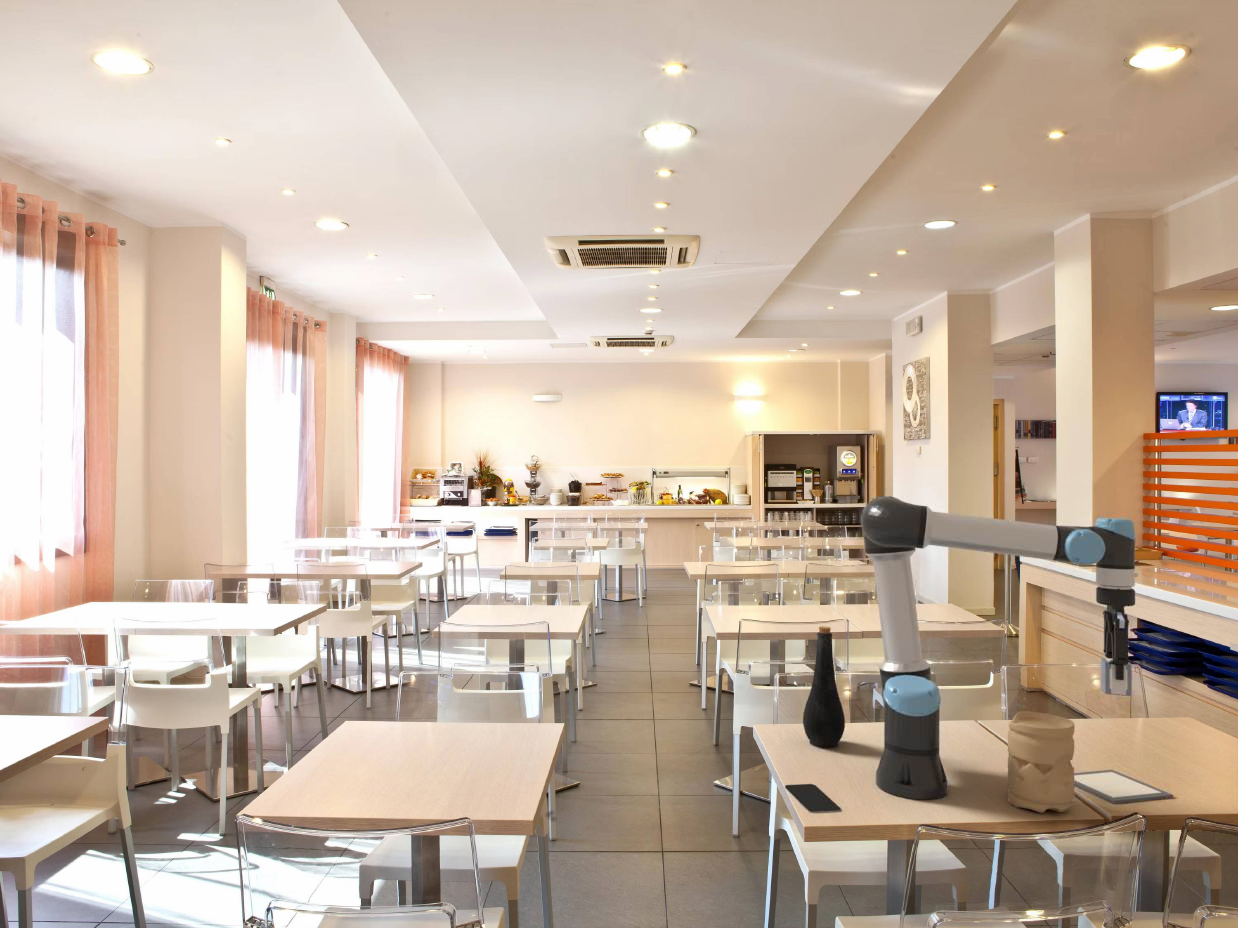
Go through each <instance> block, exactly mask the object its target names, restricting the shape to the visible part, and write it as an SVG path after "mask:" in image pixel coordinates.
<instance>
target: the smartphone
mask: <svg viewBox="0 0 1238 928" xmlns="http://www.w3.org/2000/svg"><path fill="white" fill-rule="evenodd" d="M784 789H785V790H786V791H787V792H788V793H789V794H790V795H791V796H792V797H793V798H794V799H795V800H796V801H797V802H798V803H799V804H800V805H801V806H802V807H803V809H804V810H806V811H807V812H808V813H810V814H815V813H816V814H818V813H819V814H822V813H823V814H824V813H839V812H841V811H842V809H841V807H840V806H839V805H838V804H837V803H835V801H833V800H832V799H831V798H830V797H829V796H828V795H827V794H826V793H825V792H824V791H823V790H821V789H820V788H819V787H818V786H817V785H816V784H812V783H805V784H804V783H803V784H801V783H800V784H799V783H798V784H786V785H784Z"/></svg>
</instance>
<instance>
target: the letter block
mask: <svg viewBox="0 0 1238 928" xmlns="http://www.w3.org/2000/svg"><path fill="white" fill-rule="evenodd" d="M1109 661H1113V659H1109V658H1106V657H1101V658H1100V690H1101V691H1102V692H1103V693H1104V694H1105V695H1113V696H1120V695H1119V694H1112V693H1111V664H1109ZM1122 696H1124V697H1125V696H1126V697H1132V664H1131V662H1129V663H1128V664H1126V695H1122Z"/></svg>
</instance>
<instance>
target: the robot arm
mask: <svg viewBox="0 0 1238 928" xmlns="http://www.w3.org/2000/svg"><path fill="white" fill-rule="evenodd" d="M860 526H861V528H862V535H863V543H864V544H863V545H864V550H865V551H864V553H865V555H866V556H867V557H868V558H869V559H871V561H872V563H873V572H874V581H875V588H876V597H877V605H878V614H879V621H880V631H881V640H882V647H883V655H884V660H883V661H882V662H881V663H880V665H879V667H878V668H879V678H880V684H881V685H880V686H881V690H880V691H881V698H882V699H881V700H882V703H883V710H884V712H883V713H884V714H883V715H884V717H883V719H884V724H883V726H884V727H883V729H884V731H883V734H884V735H883V740H884V742H883V743H884V744H883V746H884V747H883V751H882V754H881V757H880V759H879V763H878V766H877V768H876V771H875V784H876V786H877V787H878V788H879V789H881V790H882V791H884V792H886V793H889V794H891V795H894V796H898V797H902V798H908V799H916V800H935V799H936V800H937V799H940V798H944V797H945V796H946V795H947V794H948V791H949V790H948V788H949V787H948V786H949V785H948V783H949V782H948V778H947V775H946V772H945V769H944V766H943V763H942V760H941V755H940V712H941V711H940V708H941V707H940V706H941V700H942V699H941V694H940V689H939V686H938V685H937V684H936V683H935V682H934V681H933V679H932V672H931V671H932V670H931V665H930V663H929V662H928V661H926V660H925V659H924V658H923V652H922V645H921V638H920V637H921V636H920V630H919V629H920V628H919V620H918V611H917V604H916V596H915V588H914V579H913V573H912V571H913V570H912V564H911V557H912V556H913V554H914V553H915V552H916V549H921V550H922V549H925V548H926V547H929V546H935V547H943V548H950V549H951V548H952V549H959V550H968V551H976V552H983V553H991V554H999V555H1007V556H1016V557H1022V558H1024V557H1025V558H1031V559H1040V560H1048V561H1055V562H1061V563H1070V564H1075V565H1077V566H1085V567H1087V566H1092V565H1095V584H1096V585H1098V586H1097V587H1096V589H1095V591H1096V593H1095V599H1096V600H1095V601H1096V603H1097V604H1099V605H1103V606H1106V610H1105V609H1104V610H1103V612H1102V615H1103V653H1104V657H1105V658H1109V659H1113V661H1109V664H1111V693H1112V694H1119V695H1118V696H1123V695H1126V664H1128V663H1130V661H1129V624H1130V621H1129V617H1128V614H1127V613H1125V607H1133V606H1135V605H1136V590H1135V589H1134V588H1135V586H1136V579H1135V578H1138V576H1139V575H1138V574H1139V573H1137V572H1136V570H1135V569H1136V567H1135V566H1136V564H1135V563H1136V562H1135V561H1136V541H1137V539H1136V532H1135V530H1136V529H1135V528H1136V527H1135V522H1134V521H1133V520H1132V519H1129V518H1119V517H1117V518H1115V517H1100V518H1097V519H1096V521H1095V525H1092V526H1078V525H1077V526H1075V525H1057V524H1053V525H1051V524H1042V523H1033V522H1027V521H1020V520H1019V521H1016V520H1010V519H1009V520H1008V519H1000V518H991V517H983V516H976V515H975V516H974V515H967V514H965V515H964V514H959V513H958V514H956V513H947V512H940V511H934V510H932V509H931V508H930V507H929V506H928V505H919V504H913V503H911V502H910V503H909V502H906V501H904V500H901V499H899V498H897V497H894V496H891V495H890V496H885V495H883V496H879V497H876V498H873V499H872V500H870V501H869V502H868V503H867V504H866V505H865V507H864V508H863V510H862V511H861V516H860Z"/></svg>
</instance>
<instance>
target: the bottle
mask: <svg viewBox="0 0 1238 928" xmlns="http://www.w3.org/2000/svg"><path fill="white" fill-rule="evenodd" d="M816 635H817V641H816V642H817V643H816V656H815V663H814V670H813V677H812V682H811V687H810V691H809V694H808V698H807V700H806V703H805V707H804V709H803V710H804V711H803V714H802V715H803V716H802V725H803V729H804V732H805V735H806V738H807V739H808V741H809V744H810V745H811V746H813V747H816V748H817V747H818V748H820V749H821V748H822V749H833V748H837V747H838V745H839V742H840V740H842V737H843V735H844V732H845V728H846V720H845V712H844V708H843V705H842V702H841V699H840V696H839V692H838V687H837V681H836V675H835V665H834V658H833V657H834V656H833V633H832V632H831V627H830V626H819V627H818V632H817V633H816Z"/></svg>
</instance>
